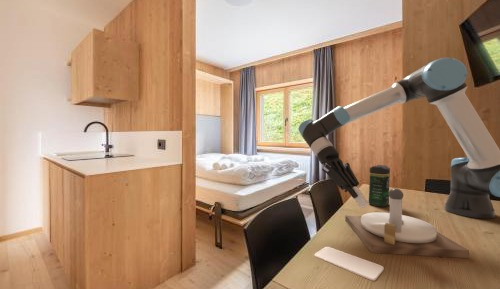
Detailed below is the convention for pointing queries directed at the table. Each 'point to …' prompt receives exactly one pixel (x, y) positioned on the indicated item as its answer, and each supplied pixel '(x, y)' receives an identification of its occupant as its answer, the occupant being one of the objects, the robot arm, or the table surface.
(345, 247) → the table surface
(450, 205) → the robot arm
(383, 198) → the coffee jar
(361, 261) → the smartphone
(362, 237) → the stand
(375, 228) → the dial
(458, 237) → the table surface
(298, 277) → the table surface
